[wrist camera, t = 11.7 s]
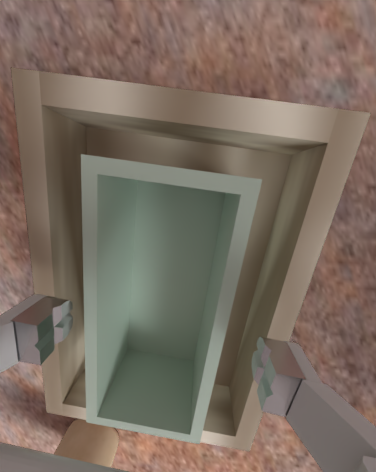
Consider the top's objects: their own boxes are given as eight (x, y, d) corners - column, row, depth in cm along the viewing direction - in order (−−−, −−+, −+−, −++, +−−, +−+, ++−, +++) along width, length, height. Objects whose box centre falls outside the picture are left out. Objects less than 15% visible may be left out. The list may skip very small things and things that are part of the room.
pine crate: (311, 137, 11) (371, 112, 7) (238, 389, 17) (249, 451, 13) (75, 106, 11) (10, 67, 8) (81, 361, 17) (46, 412, 13)
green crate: (236, 181, 11) (262, 179, 6) (200, 360, 15) (199, 444, 10) (132, 166, 11) (81, 153, 7) (122, 347, 15) (86, 422, 10)
